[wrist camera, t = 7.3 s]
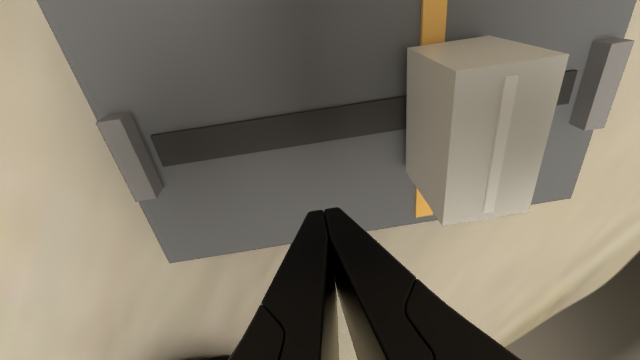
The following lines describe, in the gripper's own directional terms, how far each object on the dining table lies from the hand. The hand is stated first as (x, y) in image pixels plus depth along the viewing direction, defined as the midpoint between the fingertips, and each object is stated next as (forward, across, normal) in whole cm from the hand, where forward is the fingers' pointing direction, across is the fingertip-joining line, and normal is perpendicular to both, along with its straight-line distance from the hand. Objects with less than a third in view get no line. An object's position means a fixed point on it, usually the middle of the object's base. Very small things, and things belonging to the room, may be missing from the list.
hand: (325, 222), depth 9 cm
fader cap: (+7, -6, 0) cm, 10 cm away
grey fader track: (+9, -3, 0) cm, 10 cm away
